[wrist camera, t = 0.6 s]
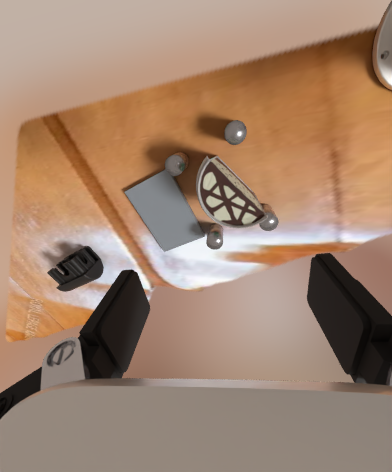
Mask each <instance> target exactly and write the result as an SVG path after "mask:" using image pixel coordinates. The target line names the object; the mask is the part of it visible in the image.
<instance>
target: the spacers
mask: <svg viewBox="0 0 392 472" xmlns="http://www.w3.org/2000/svg"><path fill="white" fill-rule="evenodd" d="M246 133H247V130H246V126H245V125H244V123H243V122H241V121H238V120H235V121H232V122H230V123H229V124H228V125H227V126H226V128H225V133H224V134H225V139H226V141H227V142H228V143H230V144H232V145H237V144H240V143H241V142H242V141H243V140H244V139H245V137H246ZM188 164H189V158H188V156H187V155H186V154H185V153H183V152H177V153H175V154H174V155H172V156H170V157H168V158H167V159H166V161H165V169H166V171H167V172H168V173H169V174H170V175H172V176H178V175H180V174H181V173H182V172H183V171H184V170H185V169H186V168H187V166H188ZM261 206H262V208H263V210H264V212H265V214H267V215H268V218H267V219H266V220H264V221H263V222H261V223H259V224H260V227H261V228H262V229H263V230H265V231H271V230H273V229H275V228H276V227H277V225H278V218H277V217H276V215H275V213H274V211H273V210H272V208H271V206H269V205H267V204H262V205H261ZM206 243H207V246H208V247H209V248H211V249H219V248H220V247H221V246H222V244H223V228H222V226H221V225H219V224H212V225H210V227H209V229H208V235H207V242H206Z"/></svg>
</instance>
